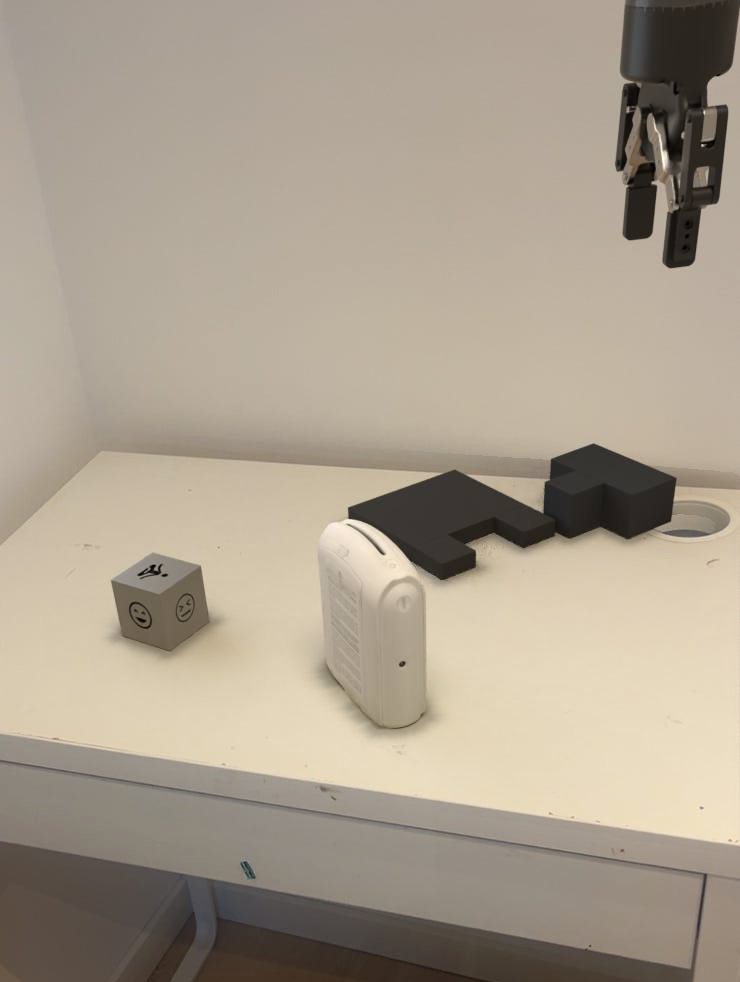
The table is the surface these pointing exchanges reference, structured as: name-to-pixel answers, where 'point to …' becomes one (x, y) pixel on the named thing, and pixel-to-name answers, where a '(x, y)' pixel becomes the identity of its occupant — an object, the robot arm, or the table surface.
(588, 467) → the black t-shaped block
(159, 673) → the table surface
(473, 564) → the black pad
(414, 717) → the photo printer
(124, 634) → the dice cube
